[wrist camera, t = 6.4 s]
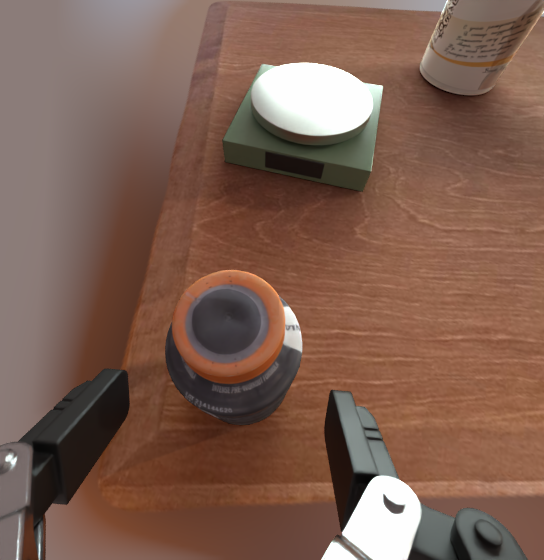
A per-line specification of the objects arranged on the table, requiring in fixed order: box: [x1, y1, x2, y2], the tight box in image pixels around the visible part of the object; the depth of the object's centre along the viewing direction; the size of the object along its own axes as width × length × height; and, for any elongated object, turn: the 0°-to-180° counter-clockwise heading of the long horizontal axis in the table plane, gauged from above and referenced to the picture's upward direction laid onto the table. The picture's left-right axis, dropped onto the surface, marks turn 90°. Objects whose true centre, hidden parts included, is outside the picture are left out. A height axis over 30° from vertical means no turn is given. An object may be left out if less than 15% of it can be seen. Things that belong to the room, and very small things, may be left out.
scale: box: [222, 63, 383, 191], centre depth 31 cm, size 14×14×4 cm
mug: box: [420, 0, 544, 95], centre depth 35 cm, size 10×12×11 cm
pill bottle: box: [165, 270, 302, 425], centre depth 15 cm, size 6×6×11 cm
